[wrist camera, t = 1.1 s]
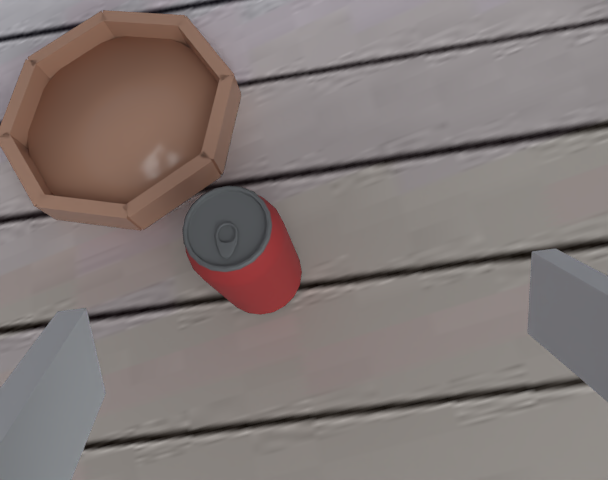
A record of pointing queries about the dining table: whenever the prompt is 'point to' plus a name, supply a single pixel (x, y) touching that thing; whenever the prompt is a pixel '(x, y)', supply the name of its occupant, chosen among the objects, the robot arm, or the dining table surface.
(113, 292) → the dining table surface
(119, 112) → the terracotta saucer
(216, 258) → the beer can
